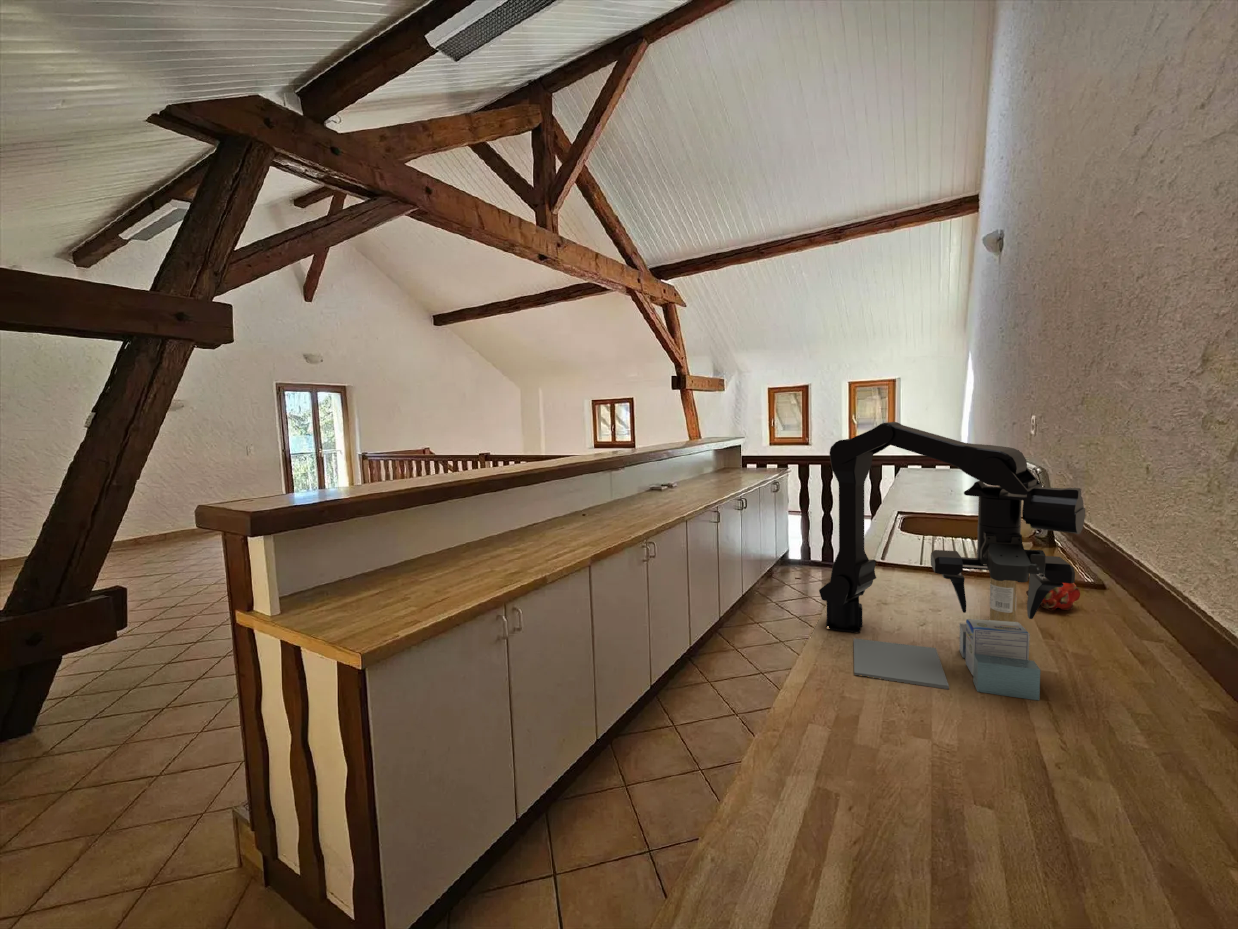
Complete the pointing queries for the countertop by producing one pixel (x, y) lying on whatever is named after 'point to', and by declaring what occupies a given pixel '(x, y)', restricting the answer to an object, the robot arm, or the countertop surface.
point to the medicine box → (995, 640)
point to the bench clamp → (1003, 674)
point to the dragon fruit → (1061, 597)
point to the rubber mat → (899, 663)
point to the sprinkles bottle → (1003, 600)
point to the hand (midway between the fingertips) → (996, 615)
